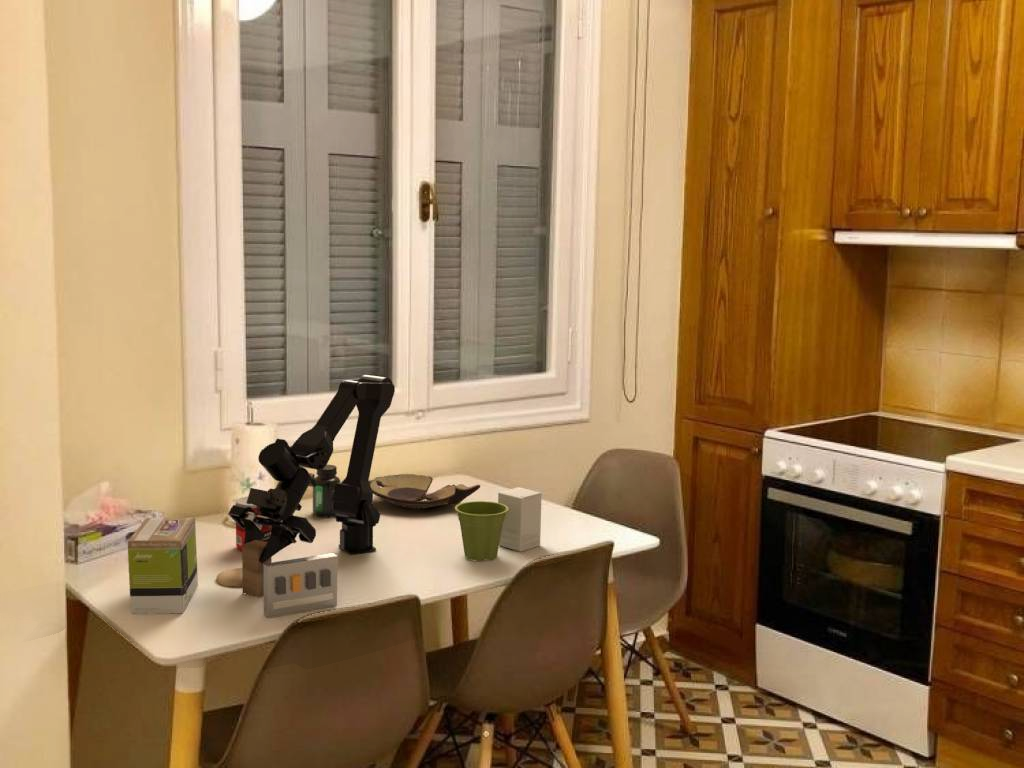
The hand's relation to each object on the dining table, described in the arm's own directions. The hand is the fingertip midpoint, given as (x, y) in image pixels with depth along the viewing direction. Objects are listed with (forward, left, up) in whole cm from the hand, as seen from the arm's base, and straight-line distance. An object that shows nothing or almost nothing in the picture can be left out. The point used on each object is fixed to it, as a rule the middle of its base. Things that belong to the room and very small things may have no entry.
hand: (252, 560), depth 221 cm
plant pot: (-52, 0, -7) cm, 53 cm away
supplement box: (-64, -3, -7) cm, 65 cm away
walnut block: (-1, -1, -7) cm, 7 cm away
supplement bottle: (-35, -46, -7) cm, 58 cm away
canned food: (-10, -28, -7) cm, 30 cm away
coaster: (-1, -10, -7) cm, 12 cm away
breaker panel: (-5, +12, -7) cm, 15 cm away
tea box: (+16, -5, -7) cm, 18 cm away
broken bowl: (-59, -42, -7) cm, 73 cm away
